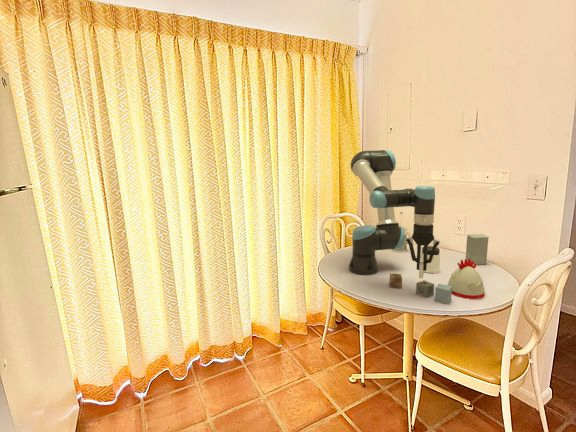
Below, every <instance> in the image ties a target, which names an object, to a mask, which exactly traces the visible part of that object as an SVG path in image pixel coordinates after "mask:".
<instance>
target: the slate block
mask: <svg viewBox="0 0 576 432" xmlns="http://www.w3.org/2000/svg"><path fill="white" fill-rule="evenodd" d="M452 295H453V294H452V286H448V284H444V283H442V284H441V283H438V284H437V285H436V287H434V302H436V303H440V304H445V305H449V304H450V303H451V301H452Z"/></svg>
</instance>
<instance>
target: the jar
mask: <svg viewBox="0 0 576 432" xmlns="http://www.w3.org/2000/svg"><path fill="white" fill-rule="evenodd" d="M432 248H433V245H432V246H431V245H428V250H427V259H429V257H430V254H431V251H432ZM440 252H441V251H440V248H439V247H438V246H437V247H436V249H435V252H434V255H433V258H432V261H431V263H427V269H426V271H424V273H427V274H436V273H439V272H440V266H441V265H440V263H441V254H440ZM423 258H424V246H421V258H420V262H423Z"/></svg>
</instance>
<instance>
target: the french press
mask: <svg viewBox="0 0 576 432" xmlns="http://www.w3.org/2000/svg"><path fill="white" fill-rule="evenodd" d="M399 214H400V215H403V214H404V211H399ZM401 227H402V228H403V230H404V232H405V240H404V243H403V245H402V247H400V248H398V249H391V251H392V252H395V253H401V254H403V253H407V252H409V250H408V249H407V248H408V247H407V245H409V244H408V243H407V241H406V240H407V238H410V237H412V234H409V232H407V231H408V229H407V227H404V226H401ZM408 234H409V236H408V237H407V235H408Z"/></svg>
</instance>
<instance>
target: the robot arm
mask: <svg viewBox="0 0 576 432" xmlns="http://www.w3.org/2000/svg"><path fill="white" fill-rule="evenodd" d="M396 160H397V159H396V156H395V155H394V153H393V152H392V151H391V150H385V149H381V150H362V151H360V152H357V153H356V154H355V155H354V156H353V157H352V159H351V161H350V169H351V172H352V173H353V175H354V176H356V177H357V178H359V180H360V182H361V183H362V184H363V186H364V187H365V189H366V190H367V192H368V193H369V199H368V200H369V203H370V206H371V207H372V208H373V209H376V210H377V220H378V221H377V223H376V225H371V224H369V225H367V224H365V225H360V226H357V227H355V228H353V230H352V236H351V238H352V248H351V249H352V252H351V253H352V255H351V259H350V262H349V263H348V270H349V271H350V272H351V273H353V274H357V275H362V276H363V275H364V276H366V275H367V276H368V275H375V274H376V273H378V272H379V264H378V261H377V259H376V251H384V250H388V251H389V250H392V249H398V248H400V247H402V245H403V243H404V240H405V233H406V231H404V230H403V228H402V227H403V226H401V225H400V224H399V223H400V222H398V221H397V220H396V216H395V208H402V207H403V208H405V207H412V208H413V209H414V210H413V213H414V214H413V222H414V223H413V231H412V232H413V233H412V234H411V237H410V236H409V237H410V238H409V237H406V238H407V240H406V241H407V243H408V244H407V245H408V247H409V252H410V256H411V261H412V262H415V263H416V268H415V269H416V270H417V271H418V279H423V278H424V273H425V272H424V271H426V269H427V263H431V261H432V258H433V255H434V252H435V249H436V247H437V248H438V246H439V244H440V242H441V241H440V240H438V239H436V238H435V236H434V223H435V221H434V220H435V206H436V205H435V203H436V188H435V187H434V186H431V185H418V186H416V187H415V189H413V188H403V189H392V181H391V176H392V174H393V172H394V170H395V169H396V165H397V161H396ZM413 242H414V243H415V244H416V246H417V247H416V252H415V248H414V243H413ZM431 243H432V246H433V248H432V251H431V254H430V257H429V259H427V250H428V246H430V244H431ZM422 247H424V258H423V262H421V252H422Z"/></svg>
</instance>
